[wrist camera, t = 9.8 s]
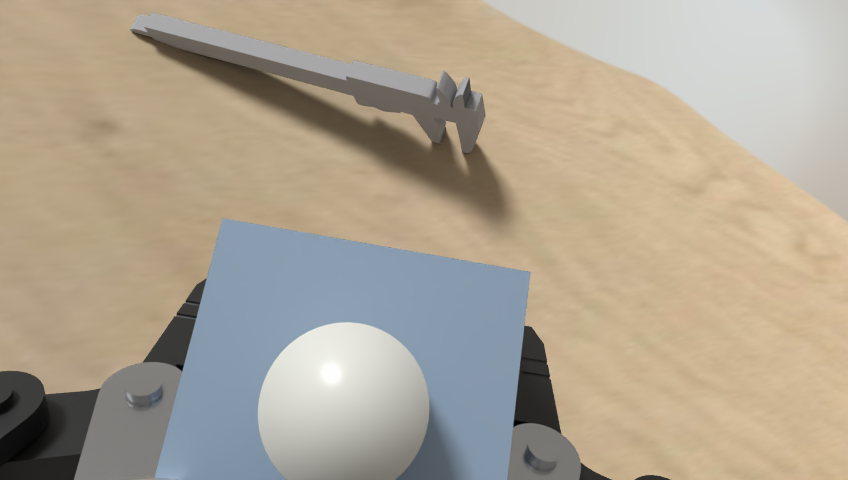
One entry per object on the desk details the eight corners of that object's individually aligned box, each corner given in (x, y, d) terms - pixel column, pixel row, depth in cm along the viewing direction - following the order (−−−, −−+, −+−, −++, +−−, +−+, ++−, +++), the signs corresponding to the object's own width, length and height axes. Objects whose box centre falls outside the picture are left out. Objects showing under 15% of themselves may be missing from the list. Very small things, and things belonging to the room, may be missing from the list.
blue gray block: (424, 488, 17) (509, 653, 6) (271, 464, 17) (93, 592, 6) (447, 335, 18) (550, 257, 7) (304, 311, 18) (202, 195, 7)
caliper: (475, 141, 33) (498, 85, 27) (469, 157, 33) (491, 105, 27) (141, 19, 33) (89, -63, 27) (132, 35, 33) (78, -45, 27)
